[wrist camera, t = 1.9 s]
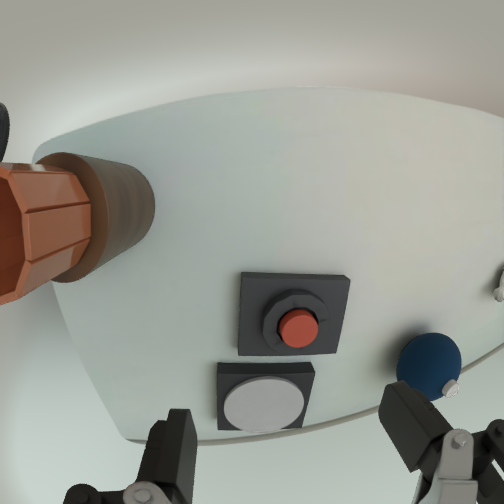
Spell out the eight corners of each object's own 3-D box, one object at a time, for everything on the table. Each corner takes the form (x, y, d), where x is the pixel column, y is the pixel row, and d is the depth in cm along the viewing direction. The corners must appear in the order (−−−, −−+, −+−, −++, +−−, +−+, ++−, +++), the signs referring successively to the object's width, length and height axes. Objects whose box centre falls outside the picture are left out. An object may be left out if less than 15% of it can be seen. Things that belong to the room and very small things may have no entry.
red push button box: (237, 347, 27) (238, 364, 24) (241, 271, 25) (243, 282, 22) (331, 345, 28) (340, 360, 25) (344, 274, 26) (356, 284, 23)
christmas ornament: (396, 387, 31) (432, 433, 21) (375, 354, 29) (417, 405, 19) (441, 347, 30) (484, 384, 20) (426, 308, 28) (479, 345, 18)
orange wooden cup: (26, 266, 14) (-33, 296, 8) (23, 170, 12) (-43, 170, 7) (97, 273, 14) (40, 315, 8) (96, 162, 13) (30, 152, 7)
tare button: (277, 340, 24) (279, 348, 23) (281, 308, 24) (284, 315, 22) (311, 340, 25) (315, 347, 23) (316, 308, 24) (321, 315, 23)
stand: (81, 247, 24) (19, 277, 14) (81, 166, 22) (15, 159, 12) (154, 251, 24) (112, 288, 15) (157, 162, 23) (112, 146, 13)
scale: (217, 418, 29) (217, 433, 27) (217, 362, 27) (216, 377, 25) (298, 417, 30) (302, 431, 28) (310, 361, 28) (317, 375, 26)
